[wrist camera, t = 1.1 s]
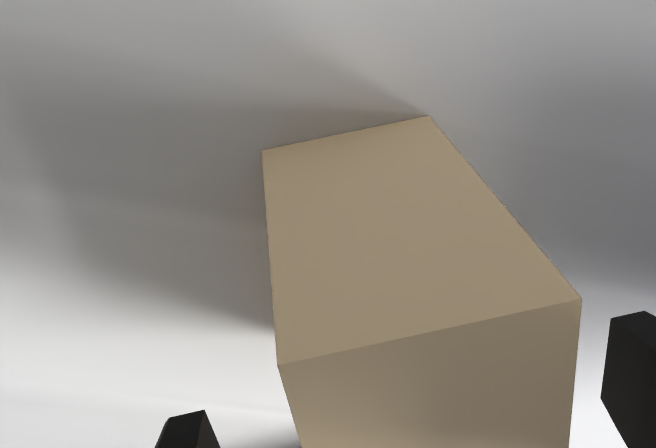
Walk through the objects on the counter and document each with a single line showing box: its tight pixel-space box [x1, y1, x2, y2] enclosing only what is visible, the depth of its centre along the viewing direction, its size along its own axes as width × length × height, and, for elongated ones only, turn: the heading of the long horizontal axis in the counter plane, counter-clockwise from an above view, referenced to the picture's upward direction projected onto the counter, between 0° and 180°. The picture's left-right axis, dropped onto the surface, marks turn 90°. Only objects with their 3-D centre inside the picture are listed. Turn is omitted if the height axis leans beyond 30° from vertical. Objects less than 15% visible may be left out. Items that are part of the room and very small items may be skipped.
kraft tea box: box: [261, 115, 582, 448], centre depth 12 cm, size 4×6×7 cm, turn 10°
